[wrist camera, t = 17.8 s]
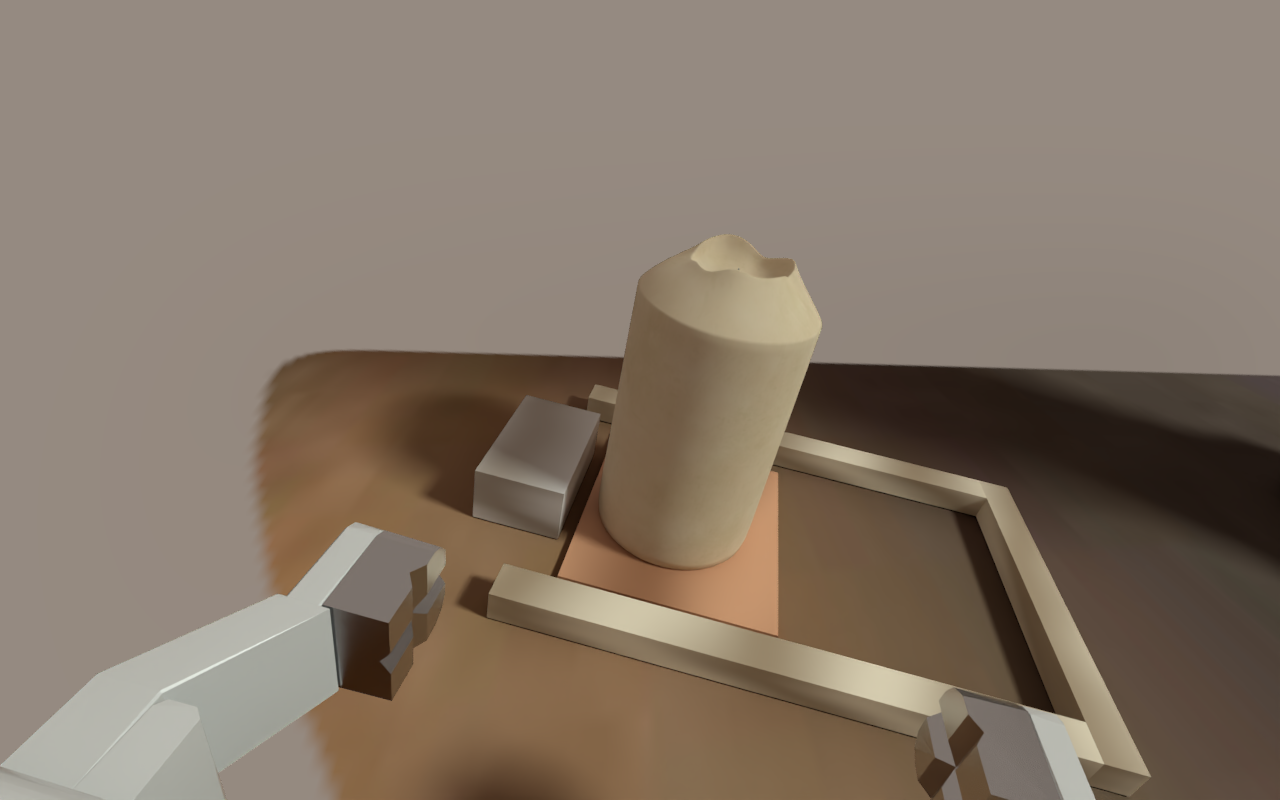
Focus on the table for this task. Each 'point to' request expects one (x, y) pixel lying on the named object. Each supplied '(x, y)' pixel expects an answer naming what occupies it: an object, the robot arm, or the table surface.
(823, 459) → the beige frame
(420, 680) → the table surface
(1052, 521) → the table surface
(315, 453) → the table surface
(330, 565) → the robot arm
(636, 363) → the candle
